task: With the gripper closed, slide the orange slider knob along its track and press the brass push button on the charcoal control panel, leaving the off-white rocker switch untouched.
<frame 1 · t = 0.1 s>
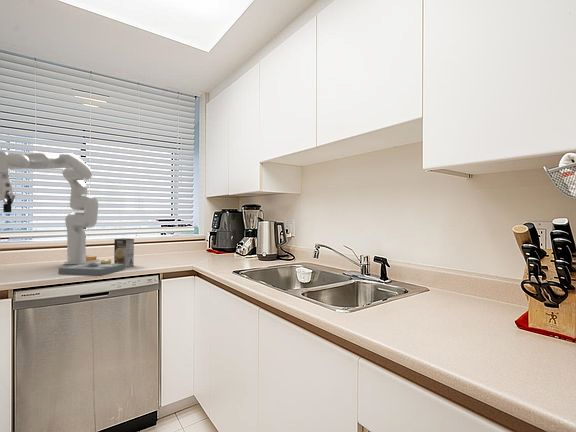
switch panel: (93, 271, 164), on the counter
coffee box: (124, 266, 184), on the counter
white rocker: (92, 261, 164), point 5 cm above the counter, hinge at 12.0°
brass button: (105, 261, 163), point 5 cm above the counter, slide at 0.0 cm
orange slider: (91, 259, 172), point 5 cm above the counter, slide at 0.0 cm
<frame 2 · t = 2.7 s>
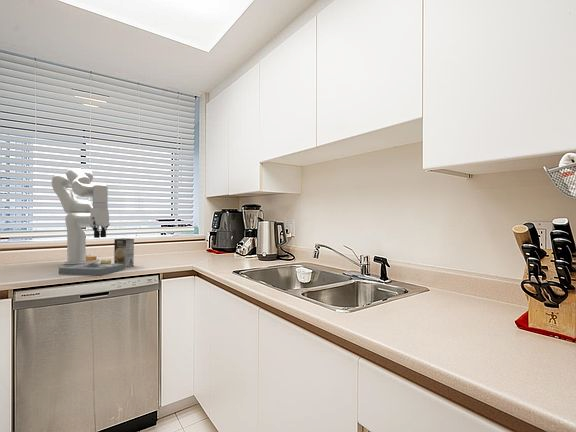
hand: (100, 237, 179), 17 cm above the counter, fingers open, 4 cm apart
nothing on the counter moved.
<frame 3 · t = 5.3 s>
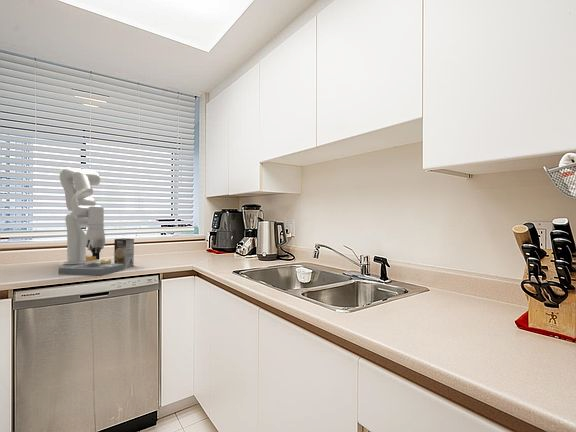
hand: (95, 259, 176), 5 cm above the counter, fingers closed
orange slider: (90, 259, 172), point 5 cm above the counter, slide at 0.1 cm, touching gripper
everything else where it was.
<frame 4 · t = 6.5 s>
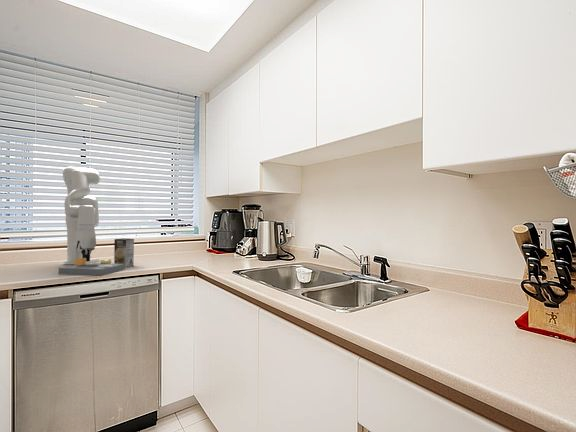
hand: (86, 261, 169), 5 cm above the counter, fingers closed
orange slider: (80, 261, 165), point 5 cm above the counter, slide at 7.0 cm, touching gripper
everything else where it was.
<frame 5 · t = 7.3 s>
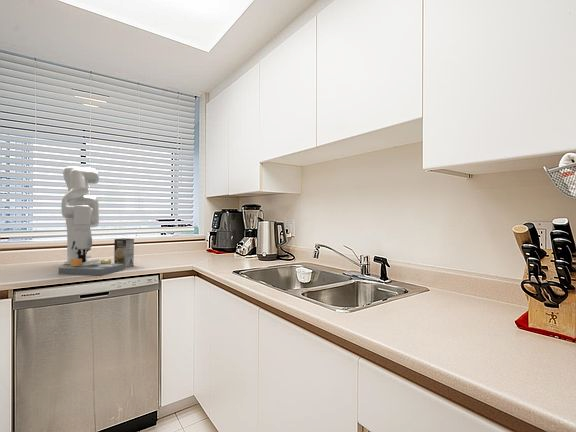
hand: (81, 262, 166), 5 cm above the counter, fingers closed
orange slider: (76, 262, 163), point 5 cm above the counter, slide at 9.8 cm, touching gripper
everything else where it was.
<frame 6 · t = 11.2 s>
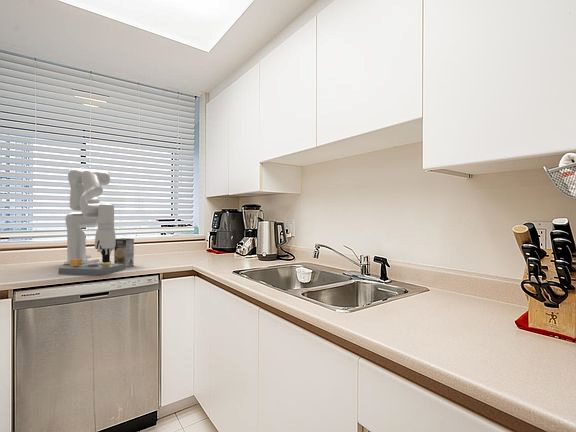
hand: (106, 261, 163), 5 cm above the counter, fingers closed
brass button: (105, 263, 163), point 4 cm above the counter, slide at 1.0 cm, touching gripper
orange slider: (76, 262, 163), point 5 cm above the counter, slide at 10.0 cm
everything else where it was.
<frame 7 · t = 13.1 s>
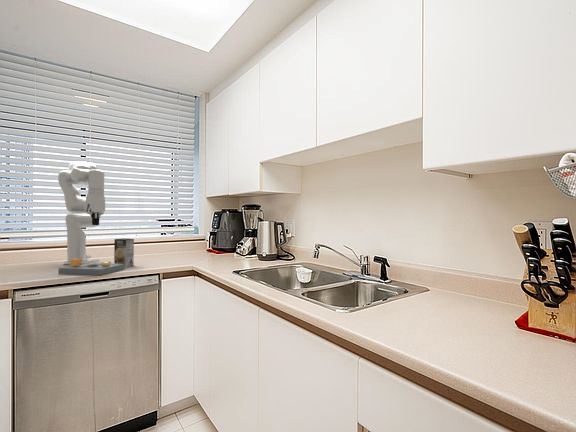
hand: (95, 225, 172), 24 cm above the counter, fingers closed
brass button: (105, 263, 163), point 4 cm above the counter, slide at 1.1 cm
everything else where it was.
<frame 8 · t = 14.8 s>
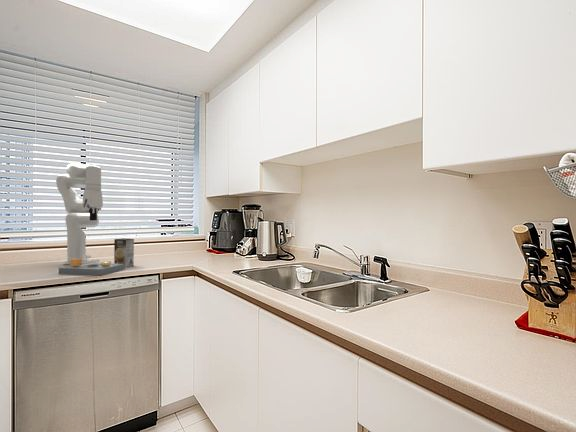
hand: (93, 220, 175), 27 cm above the counter, fingers closed
nothing on the counter moved.
at the end: orange slider slide at 10.0 cm; brass button slide at 1.1 cm; white rocker at +12° (first picture: +12°) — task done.
